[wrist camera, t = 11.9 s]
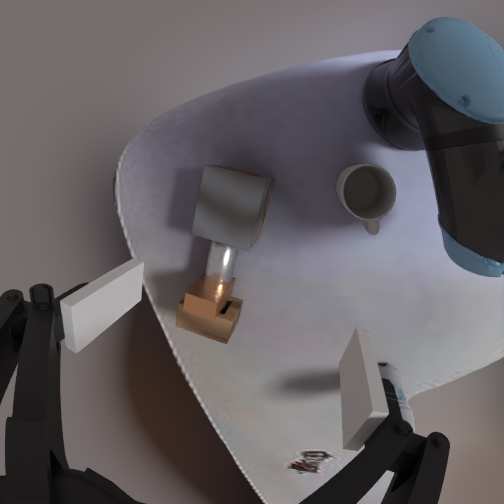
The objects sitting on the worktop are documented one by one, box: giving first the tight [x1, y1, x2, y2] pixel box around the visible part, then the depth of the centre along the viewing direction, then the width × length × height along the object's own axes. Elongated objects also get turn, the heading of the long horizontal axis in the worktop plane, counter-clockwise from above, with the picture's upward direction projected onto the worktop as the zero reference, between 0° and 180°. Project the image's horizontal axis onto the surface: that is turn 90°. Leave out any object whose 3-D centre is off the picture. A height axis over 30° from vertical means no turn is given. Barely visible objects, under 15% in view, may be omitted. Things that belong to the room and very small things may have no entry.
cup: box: [336, 163, 396, 235], centre depth 38 cm, size 7×10×9 cm
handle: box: [183, 240, 239, 321], centre depth 43 cm, size 18×5×10 cm, turn 166°
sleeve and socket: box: [176, 165, 275, 344], centre depth 45 cm, size 26×9×8 cm, turn 166°
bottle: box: [378, 364, 415, 431], centre depth 40 cm, size 7×7×20 cm
